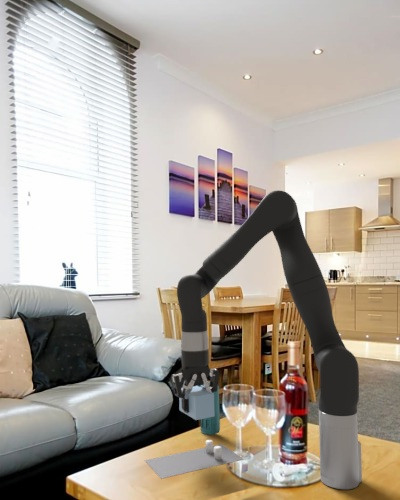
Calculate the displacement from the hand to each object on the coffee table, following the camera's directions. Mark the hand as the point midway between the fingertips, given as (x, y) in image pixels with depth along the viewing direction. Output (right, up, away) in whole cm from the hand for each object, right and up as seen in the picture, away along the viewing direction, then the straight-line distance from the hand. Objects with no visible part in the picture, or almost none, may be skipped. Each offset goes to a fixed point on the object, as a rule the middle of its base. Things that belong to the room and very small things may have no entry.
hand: (196, 410), depth 119 cm
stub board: (-1, -15, -1) cm, 15 cm away
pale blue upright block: (0, -1, 0) cm, 1 cm away
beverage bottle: (+4, -16, +21) cm, 27 cm away
